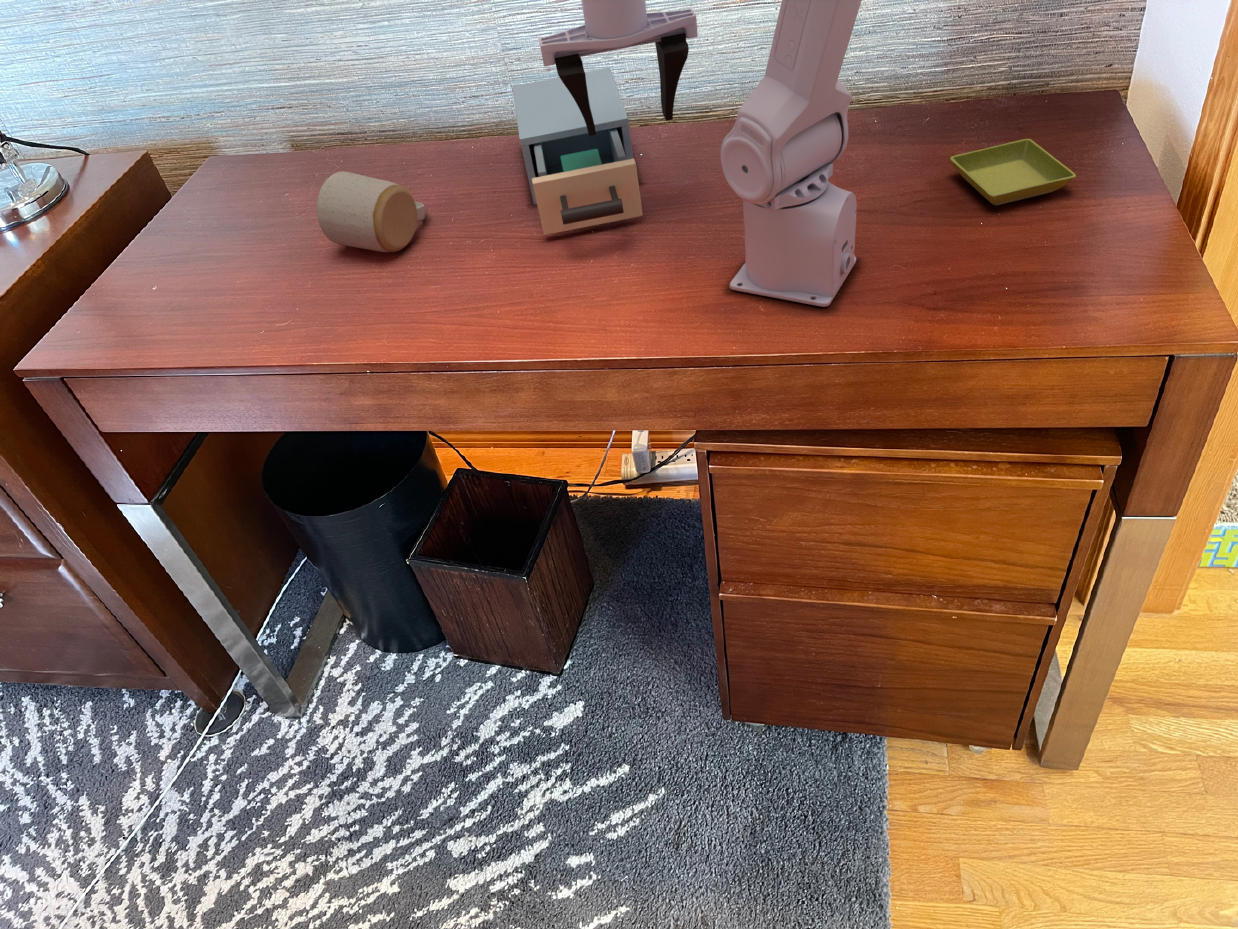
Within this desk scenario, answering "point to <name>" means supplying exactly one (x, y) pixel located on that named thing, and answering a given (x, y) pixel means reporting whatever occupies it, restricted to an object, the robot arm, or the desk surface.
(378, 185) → the ceramic mug
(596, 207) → the drawer
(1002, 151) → the olive green square dish
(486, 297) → the desk surface
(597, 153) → the green cube
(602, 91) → the grey cabinet
